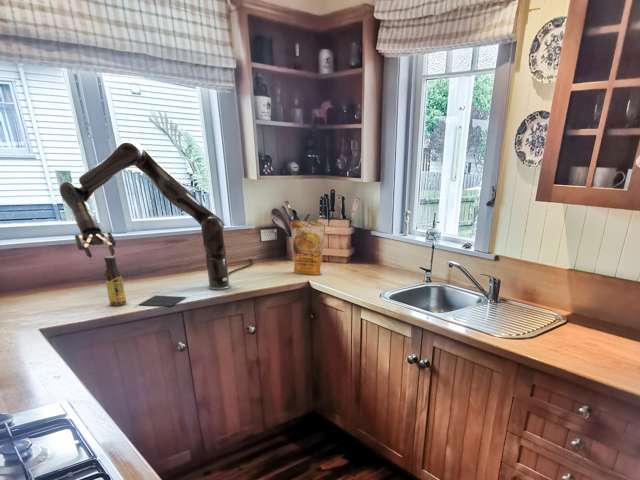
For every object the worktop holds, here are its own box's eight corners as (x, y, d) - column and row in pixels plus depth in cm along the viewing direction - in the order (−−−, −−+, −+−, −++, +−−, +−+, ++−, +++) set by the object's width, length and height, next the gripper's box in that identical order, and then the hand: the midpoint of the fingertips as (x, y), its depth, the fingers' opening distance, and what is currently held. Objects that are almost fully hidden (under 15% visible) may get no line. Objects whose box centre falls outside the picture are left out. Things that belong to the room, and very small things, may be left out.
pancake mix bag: (294, 270, 266) (292, 219, 254) (326, 273, 261) (325, 221, 250) (289, 273, 260) (287, 220, 248) (321, 276, 256) (320, 223, 244)
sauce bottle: (119, 306, 194) (109, 259, 186) (106, 305, 196) (96, 257, 187) (130, 302, 200) (121, 256, 192) (117, 301, 201) (107, 255, 193)
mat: (155, 296, 210) (155, 295, 210) (185, 297, 209) (185, 297, 209) (139, 305, 197) (139, 304, 197) (171, 306, 197) (171, 305, 197)
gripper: (68, 219, 191) (83, 252, 189) (106, 217, 200) (120, 248, 198) (68, 231, 197) (82, 262, 194) (105, 228, 206) (119, 259, 203)
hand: (102, 255), depth 196 cm, fingers open, 8 cm apart
